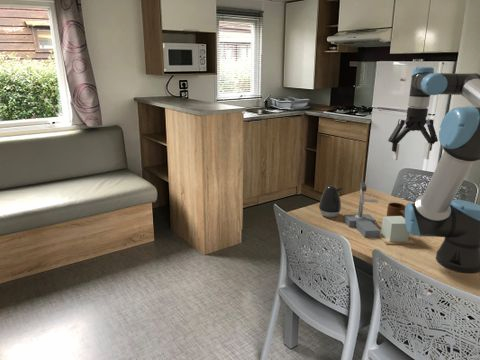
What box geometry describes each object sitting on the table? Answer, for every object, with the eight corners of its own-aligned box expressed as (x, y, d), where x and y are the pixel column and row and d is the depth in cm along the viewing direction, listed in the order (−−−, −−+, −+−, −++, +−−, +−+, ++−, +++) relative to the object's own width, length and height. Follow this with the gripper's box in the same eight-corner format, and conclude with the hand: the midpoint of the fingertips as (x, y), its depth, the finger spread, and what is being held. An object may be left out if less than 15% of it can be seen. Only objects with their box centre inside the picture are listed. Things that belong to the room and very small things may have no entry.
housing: (385, 236, 162) (386, 229, 161) (358, 237, 161) (359, 229, 160) (368, 220, 180) (369, 212, 179) (343, 220, 179) (344, 213, 178)
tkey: (374, 214, 177) (378, 182, 172) (377, 220, 169) (381, 188, 165) (357, 212, 178) (360, 181, 174) (358, 219, 171) (362, 186, 166)
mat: (415, 244, 156) (415, 243, 156) (386, 244, 155) (387, 244, 155) (401, 231, 167) (401, 231, 167) (374, 232, 166) (374, 231, 166)
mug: (411, 231, 168) (414, 211, 165) (395, 232, 167) (398, 212, 164) (398, 221, 179) (400, 202, 176) (382, 221, 178) (385, 202, 176)
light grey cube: (408, 241, 157) (410, 223, 155) (389, 241, 157) (391, 223, 154) (398, 233, 165) (401, 215, 163) (381, 233, 164) (383, 216, 162)
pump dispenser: (342, 219, 180) (345, 189, 175) (320, 219, 180) (322, 188, 176) (337, 211, 190) (340, 182, 185) (316, 211, 190) (319, 182, 185)
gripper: (441, 106, 157) (433, 156, 163) (383, 106, 154) (377, 157, 161) (453, 108, 150) (443, 160, 156) (393, 108, 147) (386, 161, 153)
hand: (410, 158), depth 158 cm, fingers open, 13 cm apart
